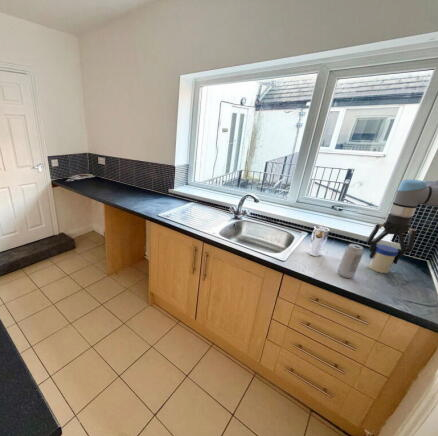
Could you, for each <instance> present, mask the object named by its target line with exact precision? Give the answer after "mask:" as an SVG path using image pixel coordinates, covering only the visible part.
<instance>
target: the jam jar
mask: <svg viewBox="0 0 438 436" xmlns="http://www.w3.org/2000/svg"><path fill="white" fill-rule="evenodd" d="M394 259H395V256H387V255H383V254H380V253H378V252H376V251H375V252H374V255H373V258H371V260H370V262H369V265H368V268H369V269H371V270H373V271H374V272H377V273H381V274H389V273H390V271H391V268H392V266H393V264H394V262H393V261H394Z"/></svg>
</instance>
